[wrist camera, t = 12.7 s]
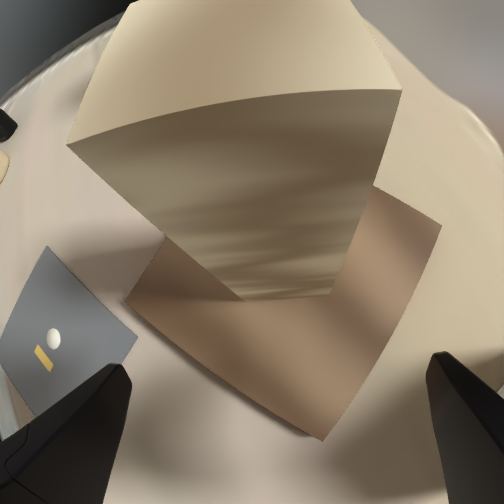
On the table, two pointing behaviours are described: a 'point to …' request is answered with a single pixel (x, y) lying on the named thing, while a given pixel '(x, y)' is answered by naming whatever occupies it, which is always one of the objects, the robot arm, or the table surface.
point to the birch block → (243, 133)
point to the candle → (3, 164)
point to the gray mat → (58, 335)
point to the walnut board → (296, 318)
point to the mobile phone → (6, 126)
